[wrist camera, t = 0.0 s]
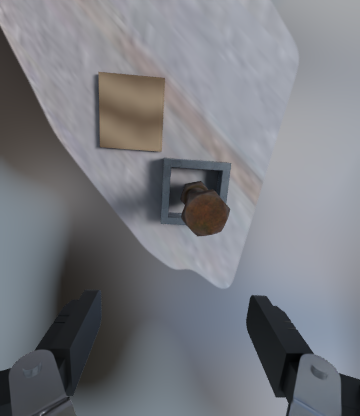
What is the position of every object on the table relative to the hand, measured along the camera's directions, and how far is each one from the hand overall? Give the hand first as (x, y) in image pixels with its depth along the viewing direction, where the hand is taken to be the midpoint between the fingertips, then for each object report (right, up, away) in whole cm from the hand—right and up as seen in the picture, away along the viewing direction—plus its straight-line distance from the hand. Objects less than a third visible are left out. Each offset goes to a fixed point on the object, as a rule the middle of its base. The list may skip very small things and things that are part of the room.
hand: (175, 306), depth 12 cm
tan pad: (-8, +21, +24) cm, 33 cm away
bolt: (+3, +8, +28) cm, 30 cm away
